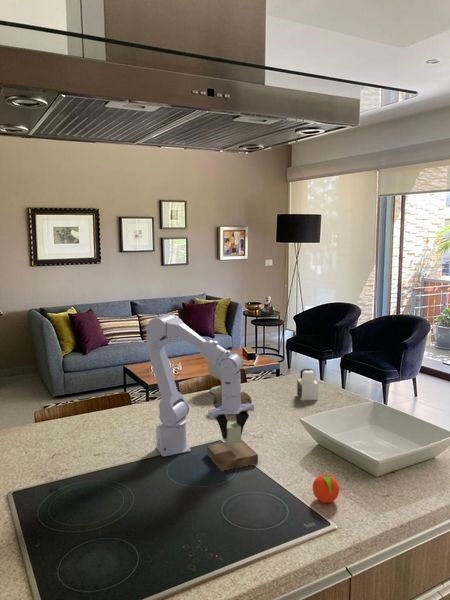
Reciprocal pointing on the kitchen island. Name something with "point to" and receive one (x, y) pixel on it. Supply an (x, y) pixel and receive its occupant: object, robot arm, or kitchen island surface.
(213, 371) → the chalice
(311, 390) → the medicine bottle
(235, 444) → the plinth
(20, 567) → the kitchen island surface
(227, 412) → the robot arm
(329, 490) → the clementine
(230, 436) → the block
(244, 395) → the tin
